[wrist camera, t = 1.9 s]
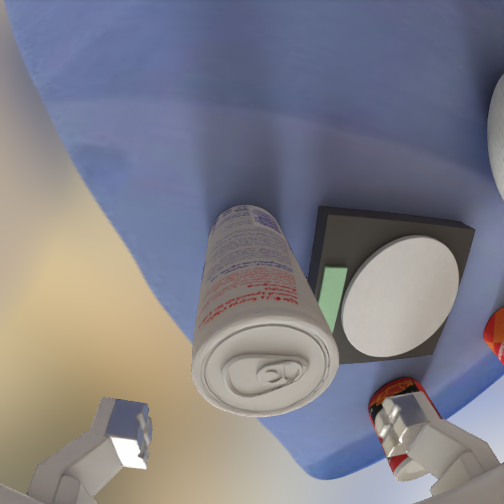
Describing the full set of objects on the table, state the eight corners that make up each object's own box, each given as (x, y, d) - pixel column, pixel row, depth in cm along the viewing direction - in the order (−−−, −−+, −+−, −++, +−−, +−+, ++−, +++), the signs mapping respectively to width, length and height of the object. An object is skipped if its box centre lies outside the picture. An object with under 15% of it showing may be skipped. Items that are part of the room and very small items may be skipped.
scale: (318, 205, 24) (330, 216, 21) (460, 221, 26) (479, 231, 23) (294, 350, 29) (300, 371, 27) (422, 341, 31) (434, 358, 28)
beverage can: (194, 240, 25) (158, 378, 11) (244, 187, 23) (269, 280, 9) (245, 283, 26) (264, 436, 12) (295, 237, 25) (367, 365, 11)
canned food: (409, 365, 32) (452, 433, 22) (426, 393, 35) (461, 452, 25) (355, 401, 33) (385, 474, 23) (379, 424, 36) (405, 486, 26)
